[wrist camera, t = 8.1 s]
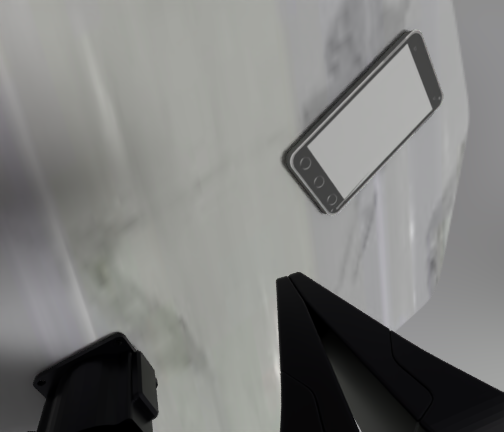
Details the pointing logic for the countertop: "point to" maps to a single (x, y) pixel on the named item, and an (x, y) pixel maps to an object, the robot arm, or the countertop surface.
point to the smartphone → (367, 125)
